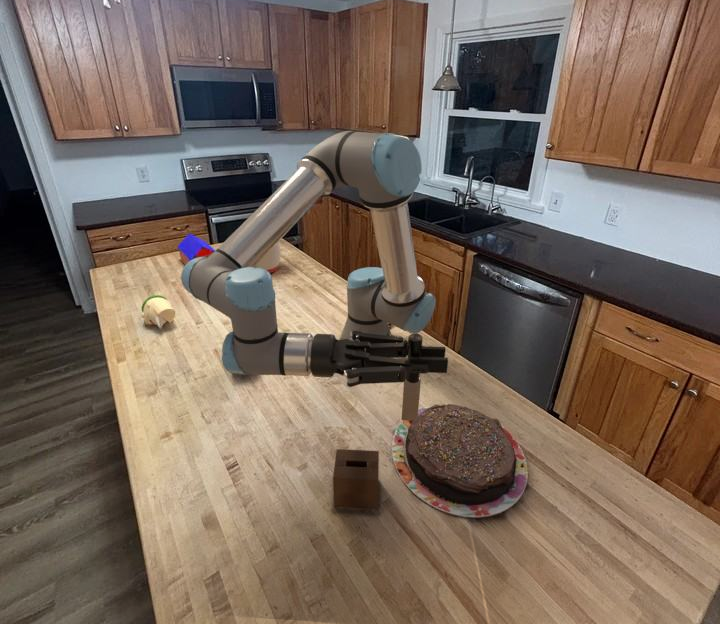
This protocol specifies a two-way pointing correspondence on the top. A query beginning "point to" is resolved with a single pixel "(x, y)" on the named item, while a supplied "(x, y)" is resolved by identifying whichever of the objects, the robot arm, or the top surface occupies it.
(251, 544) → the top surface
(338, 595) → the top surface
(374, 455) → the knife block
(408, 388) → the knife
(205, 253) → the house
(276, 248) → the citrus juicer
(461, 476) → the chocolate cake
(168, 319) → the cartoon head
